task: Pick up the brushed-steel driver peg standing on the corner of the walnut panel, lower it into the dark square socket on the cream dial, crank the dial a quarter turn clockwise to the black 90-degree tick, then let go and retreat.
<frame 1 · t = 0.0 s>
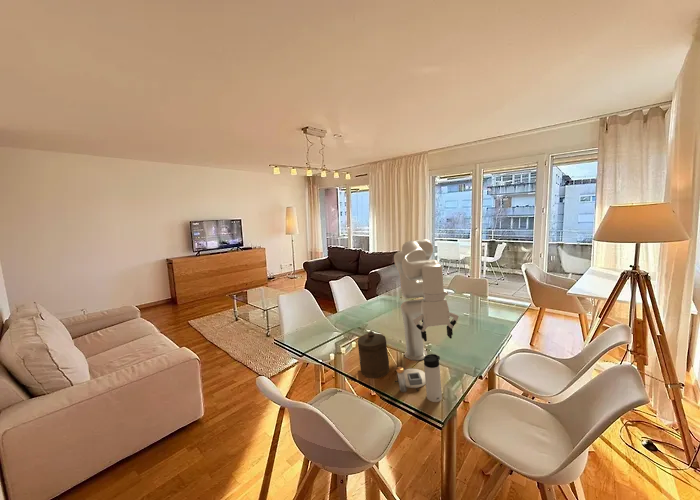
hand: (437, 338, 109), 31 cm above the table, fingers open, 9 cm apart
travel mug: (435, 400, 121), on the table
dial: (412, 375, 134), point 3 cm above the table, hinge at 0.0°
wooden container: (375, 372, 146), on the table
panel: (413, 382, 135), on the table
driver peg: (403, 390, 127), point 1 cm above the table, tilted 7°, touching panel
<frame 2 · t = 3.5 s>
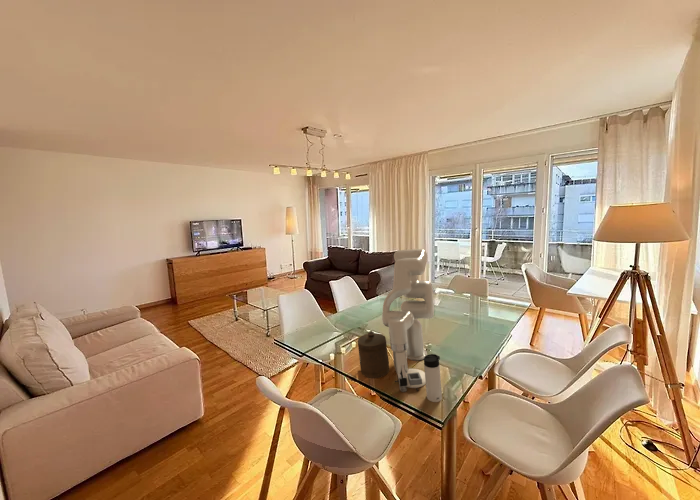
hand: (402, 382, 127), 5 cm above the table, fingers closed on driver peg, 3 cm apart
driver peg: (403, 390, 127), point 1 cm above the table, touching gripper, panel
everything else where it was.
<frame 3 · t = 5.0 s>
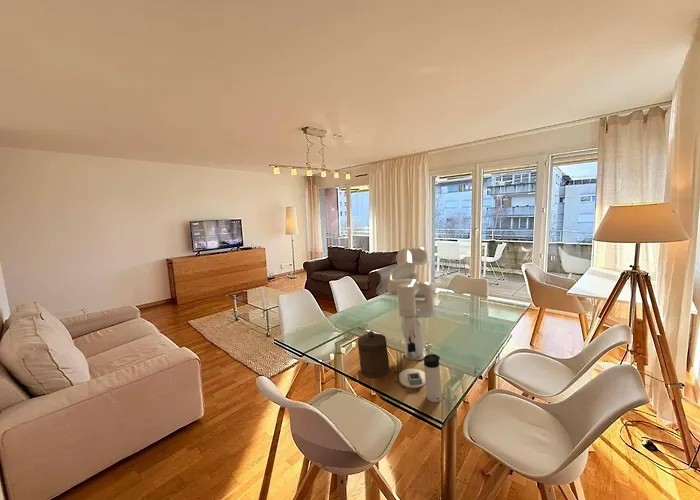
hand: (411, 349, 128), 19 cm above the table, fingers closed on driver peg, 3 cm apart
driver peg: (411, 356, 129), point 15 cm above the table, touching gripper
everything else where it was.
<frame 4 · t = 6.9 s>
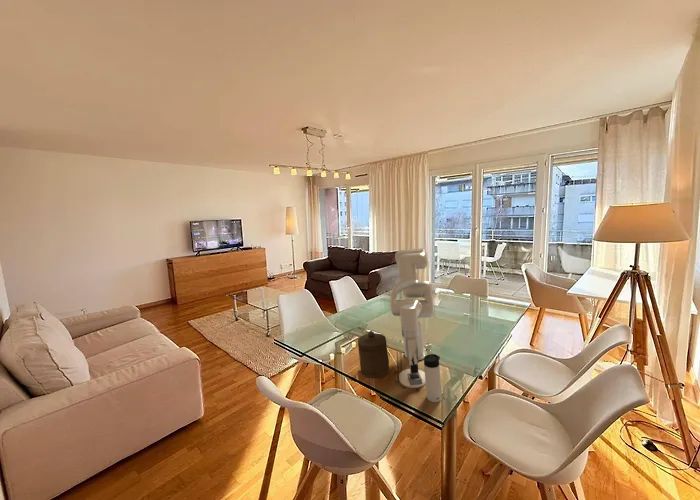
hand: (413, 370, 129), 9 cm above the table, fingers closed on driver peg, 3 cm apart
driver peg: (414, 377, 130), point 5 cm above the table, touching gripper
everything else where it was.
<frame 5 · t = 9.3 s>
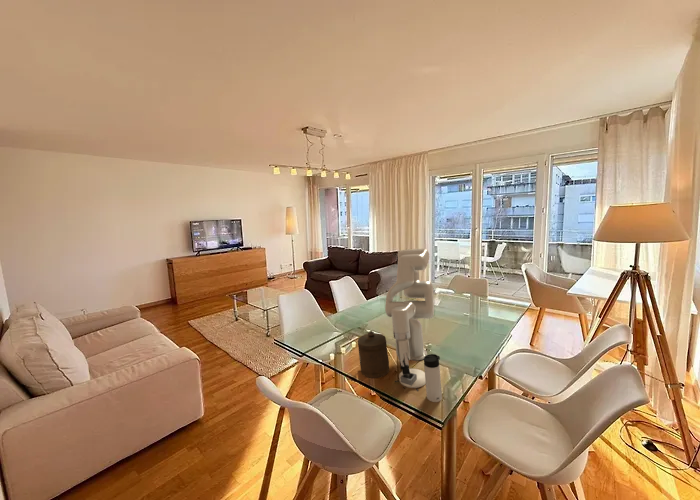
hand: (405, 370, 131), 8 cm above the table, fingers closed on driver peg, 3 cm apart
dial: (412, 375, 134), point 3 cm above the table, hinge at -40.0°, touching driver peg
driver peg: (408, 377, 131), point 4 cm above the table, tilted 13°, touching dial, gripper
everything else where it was.
when the fingers open (8 cm above the table, at t = 10.3 s): driver peg drops 1 cm, resting on dial.
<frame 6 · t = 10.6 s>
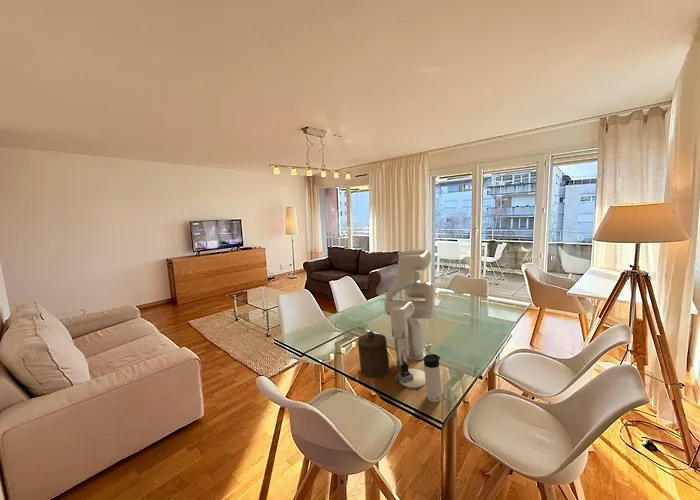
hand: (403, 367, 134), 8 cm above the table, fingers open, 6 cm apart
dial: (412, 375, 134), point 3 cm above the table, hinge at -71.5°, touching driver peg
driver peg: (406, 377, 133), point 3 cm above the table, tilted 19°, touching dial
everything else where it was.
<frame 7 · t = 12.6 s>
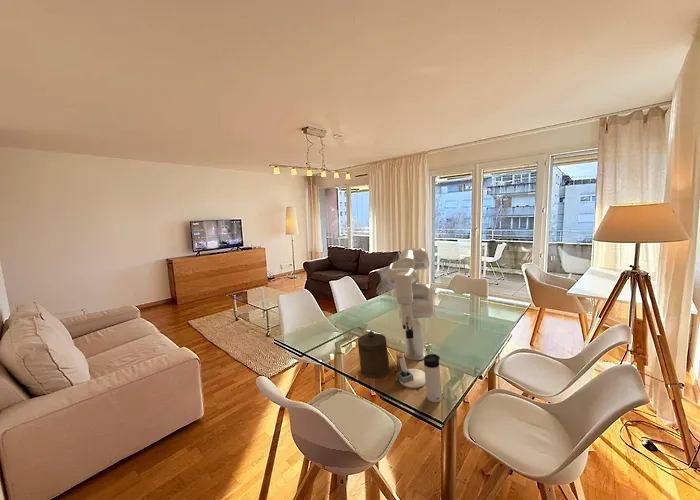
hand: (408, 333, 134), 24 cm above the table, fingers open, 9 cm apart
nothing on the table moved.
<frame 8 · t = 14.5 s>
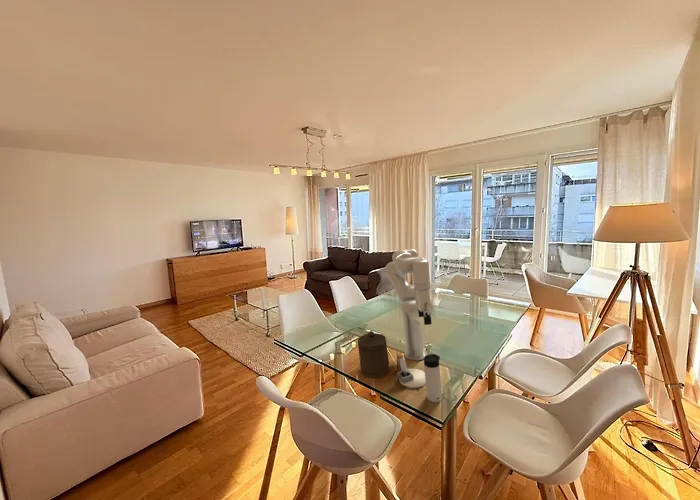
hand: (424, 320, 135), 28 cm above the table, fingers open, 9 cm apart
nothing on the table moved.
at the end: dial at -72° (first picture: +0°); driver peg 1.5 cm from the target spot, point 3.5 cm above the table; the gripper is holding nothing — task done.
